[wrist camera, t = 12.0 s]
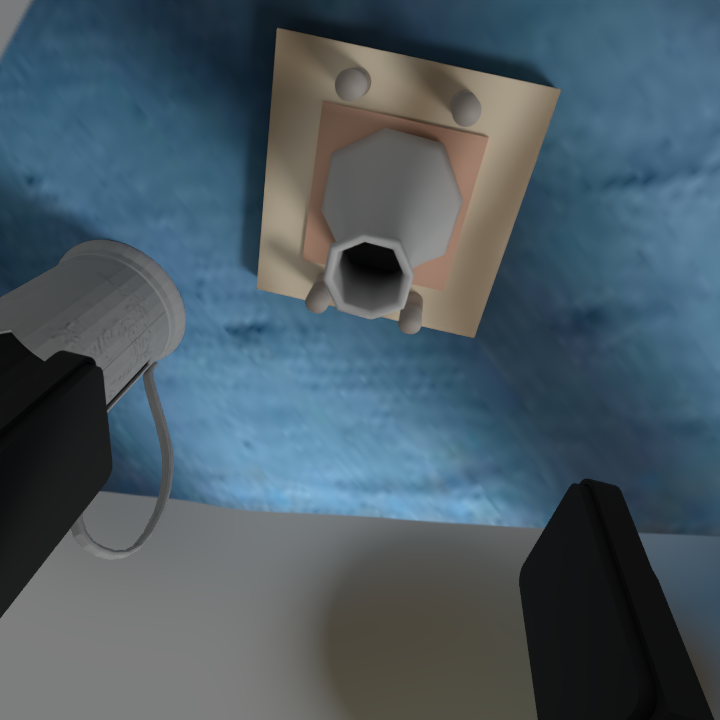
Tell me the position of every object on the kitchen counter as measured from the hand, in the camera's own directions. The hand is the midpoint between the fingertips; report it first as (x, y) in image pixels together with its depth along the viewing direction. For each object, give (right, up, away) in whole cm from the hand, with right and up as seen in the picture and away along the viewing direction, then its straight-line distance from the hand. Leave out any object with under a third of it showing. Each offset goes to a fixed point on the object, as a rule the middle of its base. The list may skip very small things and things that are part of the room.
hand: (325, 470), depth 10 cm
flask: (+2, +10, +16) cm, 19 cm away
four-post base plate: (+2, +11, +17) cm, 20 cm away
